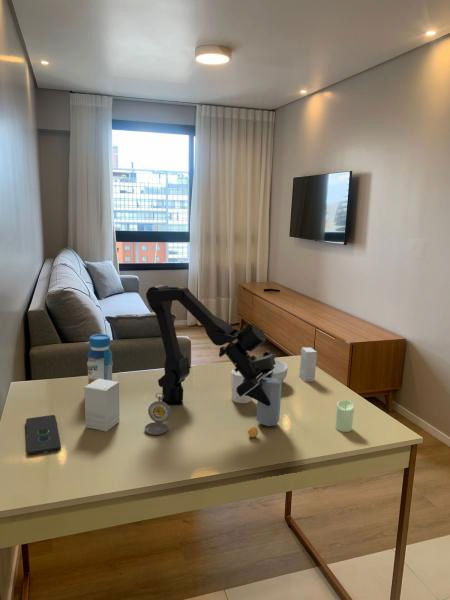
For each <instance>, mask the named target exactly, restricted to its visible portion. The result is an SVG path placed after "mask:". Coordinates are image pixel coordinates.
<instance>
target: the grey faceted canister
mask: <svg viewBox="0 0 450 600" xmlns="http://www.w3.org/2000/svg"><path fill="white" fill-rule="evenodd" d="M260 382H262V390H263V391H264V393H265V394H266V396H267V398H268V399H269V401H270V403H271V405H270V406H267V405H265V404H263V403H261V402H259V401H257V404H256V405H257V406H256V421H257V422H258V423H259V424H260V425H265V426H267V427H268V426H269V427H270V426H275V425H278V424H279V422H280V412H281V402H282V401H281V400H282V387H283V384H282V382H283V381H282V382H281V381H280V380H278V379H275V378H262V379H260ZM260 382H259V383H260Z"/></svg>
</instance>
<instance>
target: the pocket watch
mask: <svg viewBox="0 0 450 600" xmlns="http://www.w3.org/2000/svg"><path fill="white" fill-rule="evenodd" d="M157 395H161V396H158V397H157ZM162 395H163V394H162V392H158V393H156V394H155V398H156V399H157V400H156V401H153V402H152V403H151V404H150V405H149V406H148V410H147V411H148V416H149V418H150V419H151V420H152V421H153V422H149V423H148V424H146V425H145V427H144V432H146V433H147V434H149V435H153V436H158V435H162V434H163V435H164V434H165V433H166V432H167V431H168V429H169V427H168V425H167V424H166V423H165V422H167V421H168V420H169V419H170V417H171V408H170V405H167V404H166V403H165V402H162V398H161V397H162ZM163 398H164V395H163Z"/></svg>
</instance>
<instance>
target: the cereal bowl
mask: <svg viewBox="0 0 450 600" xmlns="http://www.w3.org/2000/svg"><path fill="white" fill-rule="evenodd" d="M274 360H275V363H276V365H274V367H275V368H274V369H273V370H271V371H270V372H269V373H271V372H272V371H273V374H272V378H275V379H278V380H280V381H281V382H283V381H284V380H285V379H286V377H287V376H288V369H289V368H288V364H287V363H285V362H283V361H281V360H279V359H278V360H277V359H274ZM258 382H259V380H258Z"/></svg>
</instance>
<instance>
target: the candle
mask: <svg viewBox="0 0 450 600" xmlns="http://www.w3.org/2000/svg"><path fill="white" fill-rule="evenodd" d="M354 411H355V405H354V403H353V401H350V400H348V399H341V400H339V401H337V403H336V413H335V423H334V428H335V429H336V430H337V431H340V432H342V433H347V432H351V431H352V430H353V422H354V421H353V420H354Z"/></svg>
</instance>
